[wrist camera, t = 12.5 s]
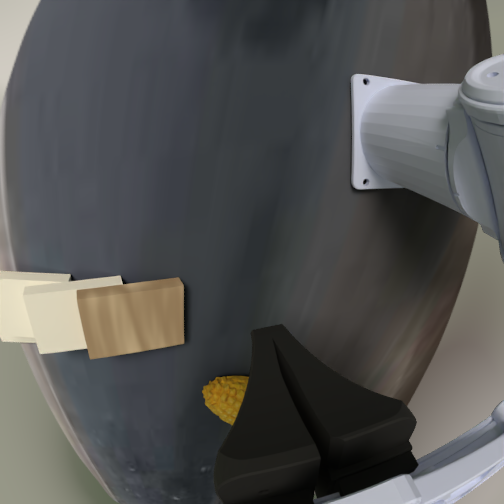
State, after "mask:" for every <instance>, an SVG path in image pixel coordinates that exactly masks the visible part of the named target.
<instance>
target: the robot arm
mask: <svg viewBox="0 0 504 504" xmlns="http://www.w3.org/2000/svg"><path fill="white" fill-rule="evenodd" d="M363 79H365V80H366V81H367V84H366V85H364V83H363ZM351 101H352V175H351V183H352V186H353V187H354V188H356V189H359V190H360V189H383V188H407V189H409V190H412V191H414V192H416V193H418V194H421V195H423V196H425V197H427V198H430V199H432V200H434V201H436V202H438V203H440V204H442V205H444V206H447V207H449V208H451V209H453V210H455V211H457V212H459V213H461V214H463V215H465V216H467V217H469V218H470V219H472V220H474V221H476V222H478V223H479V224H480V225H481V227H482V230H483V232H484V233H486V234H488V235H490V236H491V237H493V238H495V239H496V240H499V248H500V254H501V258H502V261H503V262H504V54H501V55H498V56H495V57H491V58H489V59H486V60H484V61H482V62H480V63H478V64H477V65H475V66H474V67H472V68H471V69H470V70H469V71H468V72H467V74H466V76H465V78H464V80H463V82H462V83H461V84H418V83H413V82H408V81H403V80H397V79H391V78H385V77H378V76H371V75H363V74H355V75H353V76H352V77H351ZM364 179H366V180H367V182H366V184H364V185H363V180H364ZM251 338H252V361H251V369H250V374H249V379H248V384H247V388H246V391H245V395H244V398H243V401H242V404H241V407H240V409H239V412H238V414H237V417H236V419H235V421H234V423H233V425H232V428H231V430H230V432H229V434H228V435H227V437H226V439H225V441H224V442H223V444H222V446H221V447H220V449H219V451H218V454H217V458H216V463H215V468H214V485H215V491H216V494H217V496H218V497H219V499H220V500H221V502H222V503H223V504H453V503H455V502H456V501H458V500H459V499H461V498H462V497H464V496H465V495H467V494H468V493H469V492H471V491H472V490H474V489H475V488H476V487H478V486H479V485H480V484H482V483H483V482H484V481H486V480H487V479H488V478H489V477H491V476H492V475H493V474H495V473H496V472H497V471H498V470H500V469H501V468H502V467H503V466H504V400H503V401H502V402H500V403H499V404H498V405H497V406H496V408H495V409H494V411H493V412H492V414H491V416H490V417H488V418H487V419H485V420H484V421H482V422H481V423H480V424H478V425H476V426H475V427H473V428H472V429H470V430H469V431H467V432H465V433H464V434H462V435H461V436H459V437H457V438H456V439H454V440H452V441H451V442H449V443H447V444H445V445H444V446H442V447H440V448H438V449H437V450H435V451H433V452H431V453H429V454H427V455H425V456H423V457H421V458H419V459H417V460H416V459H415V457H414V456H413V454H412V452H411V450H412V445H411V444H410V442H409V439H410V437H411V435H412V433H413V431H414V429H415V426H416V423H417V422H416V419H415V417H414V415H413V414H412V412H411V411H410V410H409V409H408V407H407V406H406V405H405V404H404V403H403V402H402V401H401V400H397V399H394V398H390V397H387V396H384V395H380V394H378V393H375V392H373V391H370V390H368V389H365V388H363V387H361V386H359V385H357V384H355V383H353V382H351V381H349V380H348V379H346V378H344V377H342V376H341V375H339V374H338V373H336V372H334V371H333V370H331V369H330V368H329V367H327V366H326V365H325V364H323V363H322V362H321V361H319V360H318V359H317V358H316V357H314V356H313V355H312V354H311V353H310V352H309V351H308V350H307V349H305V348H304V347H303V346H302V345H301V344H300V343H299V342H298V341H297V340H296V339H295V338H294V337H293V336H292V335H291V334H290V332H289V331H288V330H287V329H286V328H285V326H283V325H282V324H280V325H275V326H270V327H265V328H261V329H256V330H253V331H252V332H251ZM314 491H315V493H316V496H317V499H314V500H313V497H314Z"/></svg>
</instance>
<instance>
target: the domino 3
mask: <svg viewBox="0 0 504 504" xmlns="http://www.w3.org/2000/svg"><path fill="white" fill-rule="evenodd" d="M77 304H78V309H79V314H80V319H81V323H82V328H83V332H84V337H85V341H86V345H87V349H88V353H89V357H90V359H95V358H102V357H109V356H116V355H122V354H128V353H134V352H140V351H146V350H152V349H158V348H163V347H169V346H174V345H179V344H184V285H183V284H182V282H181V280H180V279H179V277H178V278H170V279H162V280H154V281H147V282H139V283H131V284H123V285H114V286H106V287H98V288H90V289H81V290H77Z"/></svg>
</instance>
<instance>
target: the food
mask: <svg viewBox="0 0 504 504" xmlns="http://www.w3.org/2000/svg"><path fill="white" fill-rule="evenodd" d="M248 379H249V377H245V376H227V377H225V376H224V377H216V378H215V380H214V381H212V382H211V381H209V384H208V385H207V386H204V388H203V391H202V393H203V394H204V398H205V401H206V402H205V405H206V406H207V407H209V409H210V410H211V411H213V413H215V414H216V415H219V417H220V418H221V419H222V420H223V421H225V422H227V423H230V424H231V425H233V423H234V421H235V419H236V417H237V414H238V412H239V409H240V407H241V404H242V401H243V398H244V395H245V391H246V388H247V384H248Z"/></svg>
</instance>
